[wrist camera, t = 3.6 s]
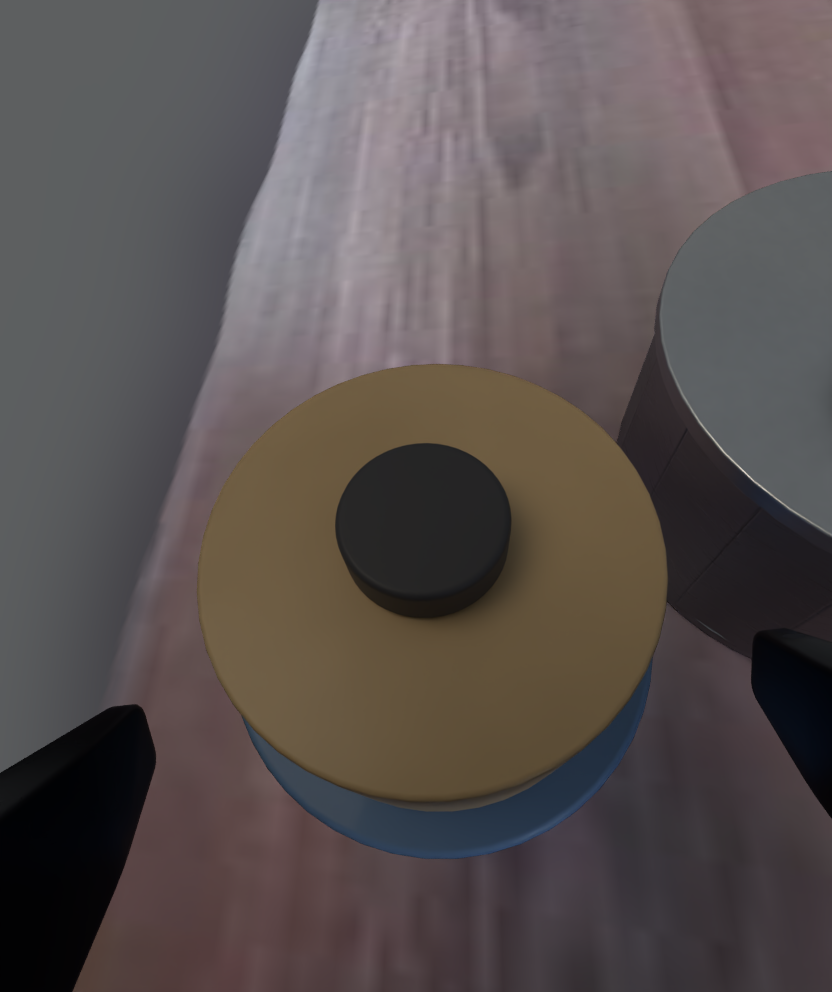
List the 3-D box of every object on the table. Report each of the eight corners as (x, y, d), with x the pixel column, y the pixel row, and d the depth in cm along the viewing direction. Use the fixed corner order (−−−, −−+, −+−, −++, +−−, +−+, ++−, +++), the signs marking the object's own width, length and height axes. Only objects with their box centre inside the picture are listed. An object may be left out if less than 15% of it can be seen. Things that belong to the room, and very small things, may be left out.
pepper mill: (521, 876, 14) (710, 1019, 3) (337, 804, 16) (-13, 720, 4) (564, 680, 17) (768, 349, 5) (399, 628, 18) (277, 259, 6)
